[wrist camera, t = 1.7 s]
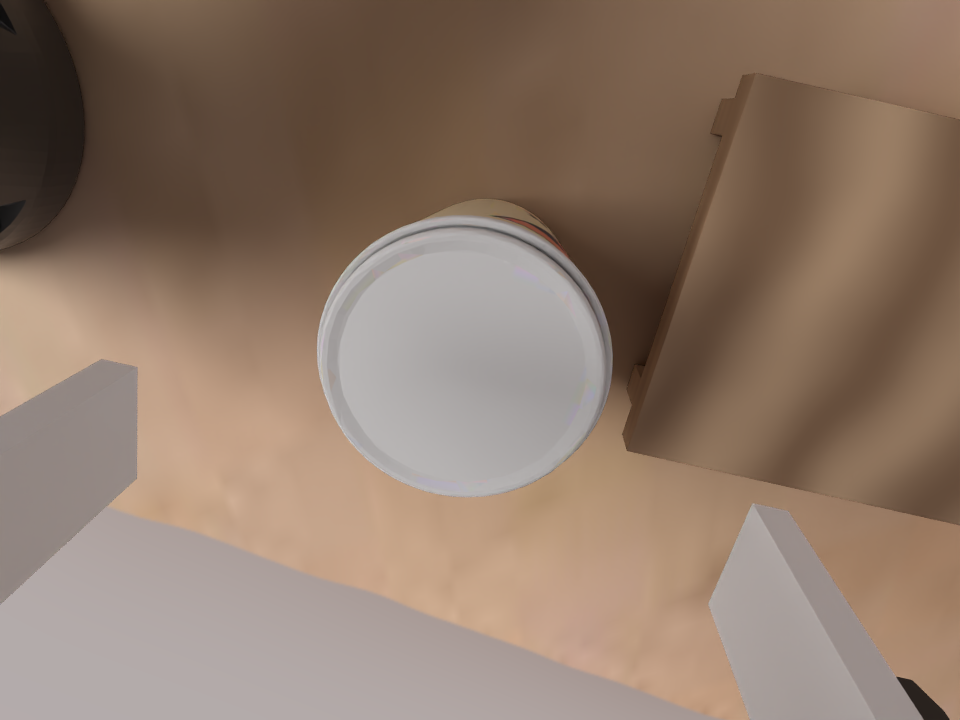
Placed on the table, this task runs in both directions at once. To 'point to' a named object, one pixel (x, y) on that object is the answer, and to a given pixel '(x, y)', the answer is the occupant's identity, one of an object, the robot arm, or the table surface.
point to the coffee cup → (465, 351)
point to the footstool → (817, 305)
